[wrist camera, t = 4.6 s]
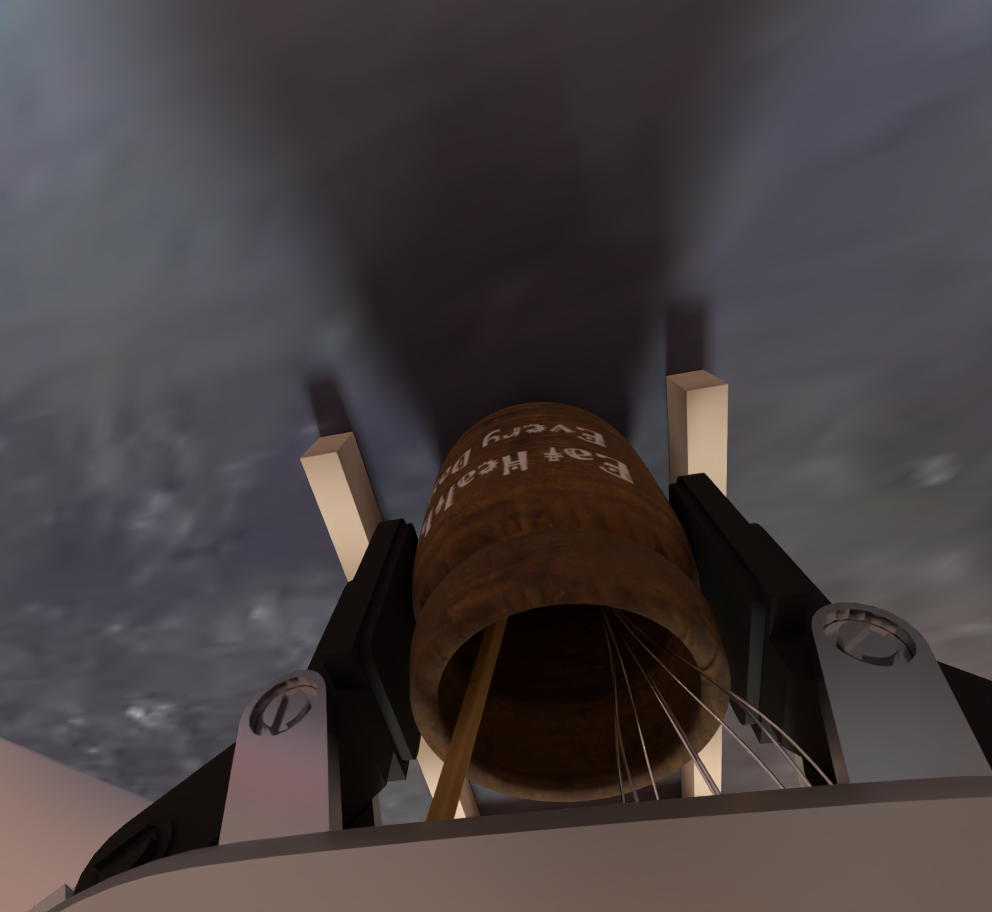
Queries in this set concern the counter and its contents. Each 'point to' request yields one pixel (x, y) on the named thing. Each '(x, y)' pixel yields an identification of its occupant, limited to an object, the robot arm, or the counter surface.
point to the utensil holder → (561, 619)
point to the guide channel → (356, 515)
